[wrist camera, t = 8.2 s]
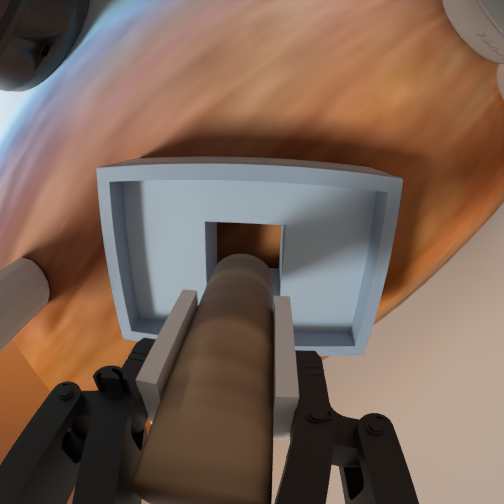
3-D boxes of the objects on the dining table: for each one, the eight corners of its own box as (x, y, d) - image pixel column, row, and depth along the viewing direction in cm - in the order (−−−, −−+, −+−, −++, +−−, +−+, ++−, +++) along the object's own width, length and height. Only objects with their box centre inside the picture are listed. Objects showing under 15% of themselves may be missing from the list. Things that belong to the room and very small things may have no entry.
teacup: (448, 62, 18) (499, 48, 11) (412, -27, 14) (447, -59, 7) (526, 75, 16) (571, 73, 9) (498, -3, 12) (536, -17, 5)
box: (138, 158, 24) (96, 168, 17) (368, 167, 23) (403, 178, 16) (150, 297, 29) (123, 338, 22) (346, 309, 28) (363, 355, 21)
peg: (210, 252, 18) (111, 464, 5) (275, 255, 18) (278, 491, 5) (212, 307, 19) (149, 509, 6) (271, 310, 19) (265, 525, 6)
